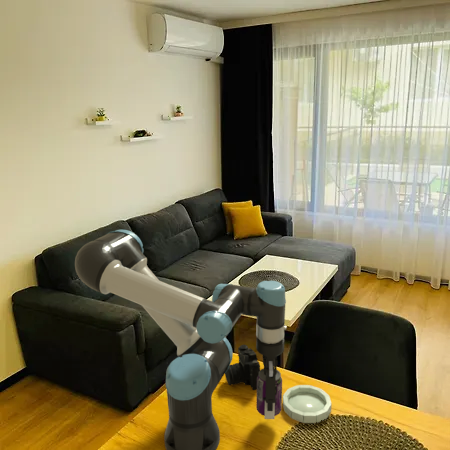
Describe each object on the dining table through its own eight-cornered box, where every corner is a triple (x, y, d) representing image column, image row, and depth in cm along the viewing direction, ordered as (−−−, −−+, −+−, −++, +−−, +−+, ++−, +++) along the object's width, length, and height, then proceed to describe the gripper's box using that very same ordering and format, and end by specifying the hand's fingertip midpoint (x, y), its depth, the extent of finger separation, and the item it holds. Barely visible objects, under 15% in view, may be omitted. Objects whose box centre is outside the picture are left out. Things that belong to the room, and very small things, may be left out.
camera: (220, 371, 151) (219, 345, 148) (249, 365, 153) (248, 340, 151) (232, 395, 138) (231, 368, 135) (263, 388, 141) (263, 361, 138)
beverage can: (280, 420, 120) (281, 383, 117) (254, 417, 122) (255, 380, 118) (282, 403, 127) (283, 367, 124) (258, 400, 128) (258, 365, 125)
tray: (285, 422, 125) (285, 415, 124) (281, 391, 138) (281, 385, 138) (334, 423, 124) (334, 415, 124) (326, 391, 138) (326, 385, 137)
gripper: (287, 358, 108) (284, 434, 114) (281, 319, 127) (279, 386, 134) (257, 357, 109) (256, 433, 115) (255, 319, 128) (255, 386, 134)
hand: (268, 408), depth 124 cm, fingers closed on beverage can, 7 cm apart
